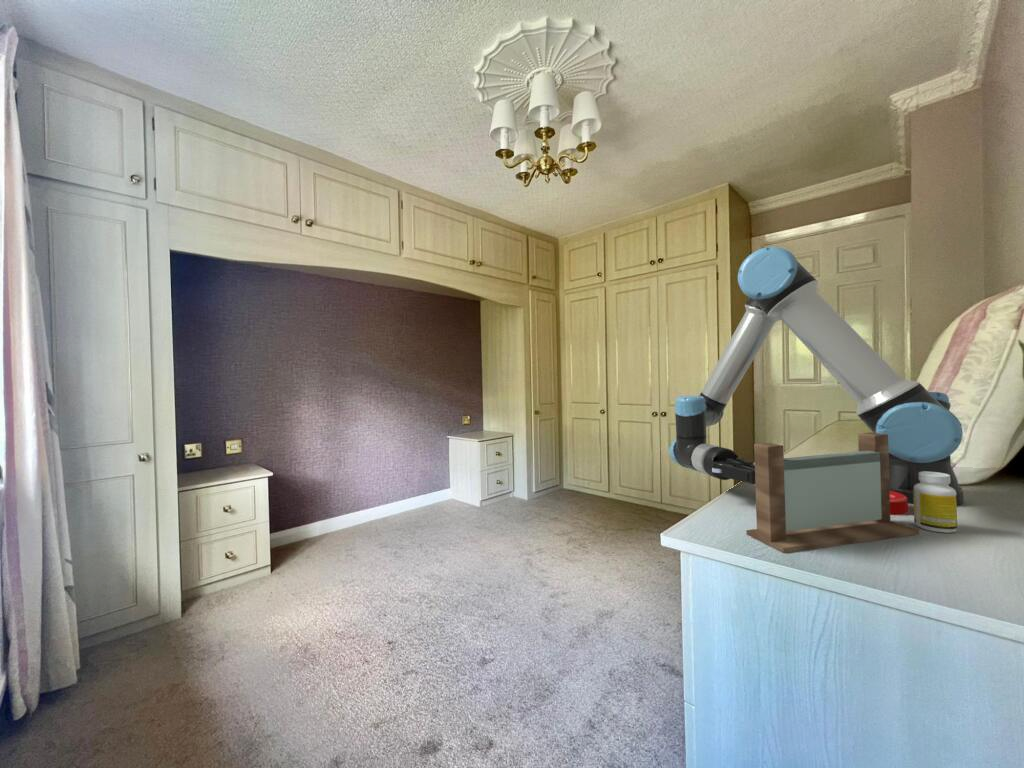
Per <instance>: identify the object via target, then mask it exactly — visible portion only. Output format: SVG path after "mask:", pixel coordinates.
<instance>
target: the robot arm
mask: <svg viewBox="0 0 1024 768" xmlns="http://www.w3.org/2000/svg"><path fill="white" fill-rule="evenodd" d="M739 266H740V267H739V268H738V272H737V273H738V274H737V283H738V286H739V288H740V290H741V292H742V293H743V294H745V296H747V297H748V299H747V300H746V302H745V304H744V307H745V312H744V314H743V315H742V318H741V320H740V321H739V323H738V325H737V326H736V329H735V331H734V333H733V334H732V336H731V338H730V339H729V341H728V343H727V345H726V347H725V348H724V350H723V352H722V354H721V356H720V357H719V359H718V361H717V363H716V364H715V367H714V368H713V370H712V372H711V374H710V376H709V377H708V379H707V381H706V382H705V384H704V386H703V388H702V390H701V392H700V393H699V395H685V396H682V395H681V396H678V397H676V398H675V404H674V405H675V406H674V414H675V435H676V437H675V439H674V440H673V441H672V442H671V444H670V446H669V451H668V452H669V453H668V454H669V457H670V459H671V460H672V461H673V462H674V463H675V464H678V465H679V466H680V467H683V468H686V469H690V470H692V471H696V472H699V473H702V474H704V475H706V477H709V478H710V477H713V478H715V479H719V480H721V481H727V480H734V481H738V482H743V483H747V484H751V485H755V462H753V461H751V460H747V459H745V458H743V457H739V456H738V454H737V453H736V452H735V451H734V450H732V449H730V448H726V447H723V446H719V445H718V446H717V445H714V444H709V443H707V427H711V426H714V425H717V424H718V423H719V422H720V421H721V420H722V419H723V416H724V413H725V412H724V411H725V408H726V407H727V405H728V403H729V401H730V400H731V398H732V397H733V394H734V393H735V391H736V390H737V388H738V386H739V385H740V383H741V381H742V379H743V378H744V376H745V374H747V371H748V369H749V368H750V366H751V365H752V363H753V361H754V359H755V357H756V356H757V354H758V352H759V351H760V349H761V347H762V346H763V344H764V342H765V341H766V339H767V338H768V335H769V334H770V332H771V331H772V329H773V327H774V326H775V324H776V323H777V322H779V321H782V322H783V323H784V324H785V326H786V327H787V328H788V329H789V330H790V331H791V332H792V333H793V335H795V336H796V337H797V339H798V340H799V341H800V342H801V344H803V345H804V346H805V347H806V348H807V350H808V351H809V352H810V353H811V354H812V355H813V356H814V357H815V358H816V360H818V362H819V363H821V365H822V366H823V368H825V369H826V370H827V371H828V372H829V374H830V375H831V376H832V377H833V378H834V379H835V380H836V381H837V382H838V384H839V385H841V387H842V388H843V389H844V390H845V391H846V392H847V393H848V394H849V395H850V397H852V398H853V400H854V401H855V402H856V403H857V406H856V407H857V408H856V412H855V414H856V415H857V417H859V419H861V421H862V422H863V423H864V424H865V425H866V426H867V428H869V430H870V431H871V432H872V433H880V434H888V448H889V485H890V491H893V492H897V493H900V494H902V495H904V496H906V497H907V499H908V504H909V503H911V504H914V486H915V485H916V484H918V483H920V480H919V472H923V471H928V472H939V473H945V474H948V475H950V480H951V482H950V484H949V487H952V488H953V489H954V490H955V491H956V496H957V505H961V504H963V503H964V501H965V499H964V498H965V497H964V496H965V495H964V490H963V488H962V487H961V486H960V484H959V481H958V478H957V475H956V473H955V472H954V469H953V466H952V463H951V462H952V461H951V455H952V454H953V453H954V452H956V451H957V449H958V448H959V447H960V445H961V443H962V440H963V434H964V433H963V427H962V423H961V421H960V420H959V418H958V417H957V416H956V415H955V414H954V413H953V412H952V411H950V409H951V405H952V404H951V403H950V399H949V398H950V397H949V396H948V395H947V394H946V393H944V392H941V391H940V392H938V391H929V390H927V389H926V388H925V386H923V385H922V384H921V383H920V382H919V381H915V380H907V379H904V378H902V377H901V376H900V375H899V374H898V373H897V372H896V370H895V369H894V368H892V367H891V366H890V364H888V362H886V361H885V360H884V359H883V357H882V356H880V354H878V353H877V352H876V351H875V349H873V347H871V345H870V344H869V343H867V342H866V340H865V339H864V338H863V337H862V336H861V335H860V334H859V333H858V332H857V331H856V330H855V328H853V327H852V326H851V325H850V324H849V323H848V322H847V321H846V320H845V319H844V317H842V316H841V315H840V314H839V313H838V312H837V311H836V310H835V309H834V308H833V307H832V306H831V305H830V304H829V303H828V302H827V301H826V300H825V299H824V298H823V297H822V295H820V294H819V293H818V291H817V290H818V285H819V281H818V280H817V279H816V278H815V277H814V275H812V273H810V272H809V271H808V270H807V269H806V268H805V267H804V266H803V265H802V264H801V263H800V262H799V261H798V260H797V258H796V256H795V255H794V254H793V253H792V252H791V251H790V250H788V249H785V248H782V247H780V246H779V247H778V246H766V247H763V248H760V249H757V250H756V251H753V252H752V253H751V254H749V255H748V256H747V257H746V258H745V259H744V260H743V262H742V263H741V265H739Z"/></svg>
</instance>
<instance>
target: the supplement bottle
mask: <svg viewBox="0 0 1024 768" xmlns="http://www.w3.org/2000/svg"><path fill="white" fill-rule="evenodd" d="M919 480H920V483H918V484H916V485H915V486H914V503H913V518H914V519H913V521H914V522H913V523H914V525H915V526H916V527H918V528H920V529H923V530H926V531H931V532H934V533H935V532H936V533H942V534H943V533H948V534H949V533H951V534H952V533H955V532H957V531H958V509H957V508H958V506H957V505H958V504H957V496H956V491H955V490H954V489H953V488H952V487H949V484H950V482H951V480H950V475H948V474H945V473H939V472H928V471H923V472H919Z"/></svg>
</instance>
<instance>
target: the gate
mask: <svg viewBox="0 0 1024 768" xmlns="http://www.w3.org/2000/svg"><path fill="white" fill-rule="evenodd" d="M784 484H785V517H786V531H794V530H802V529H810V528H817V527H825V526H833V525H841V524H849V523H857V522H865V521H872V520H880V519H882V514H881V477H880V453H879V452H873V451H860V452H859V451H851V452H840V453H828V454H816V455H805V456H796V457H794V456H793V457H784Z"/></svg>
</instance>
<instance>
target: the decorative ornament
mask: <svg viewBox="0 0 1024 768" xmlns="http://www.w3.org/2000/svg"><path fill="white" fill-rule="evenodd" d="M908 513H909V502H908V499H907V497H906V496H904V495H902V494H900V493H897V492H893V491H890V516H896V515H897V516H901V515H905V514H908Z"/></svg>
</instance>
